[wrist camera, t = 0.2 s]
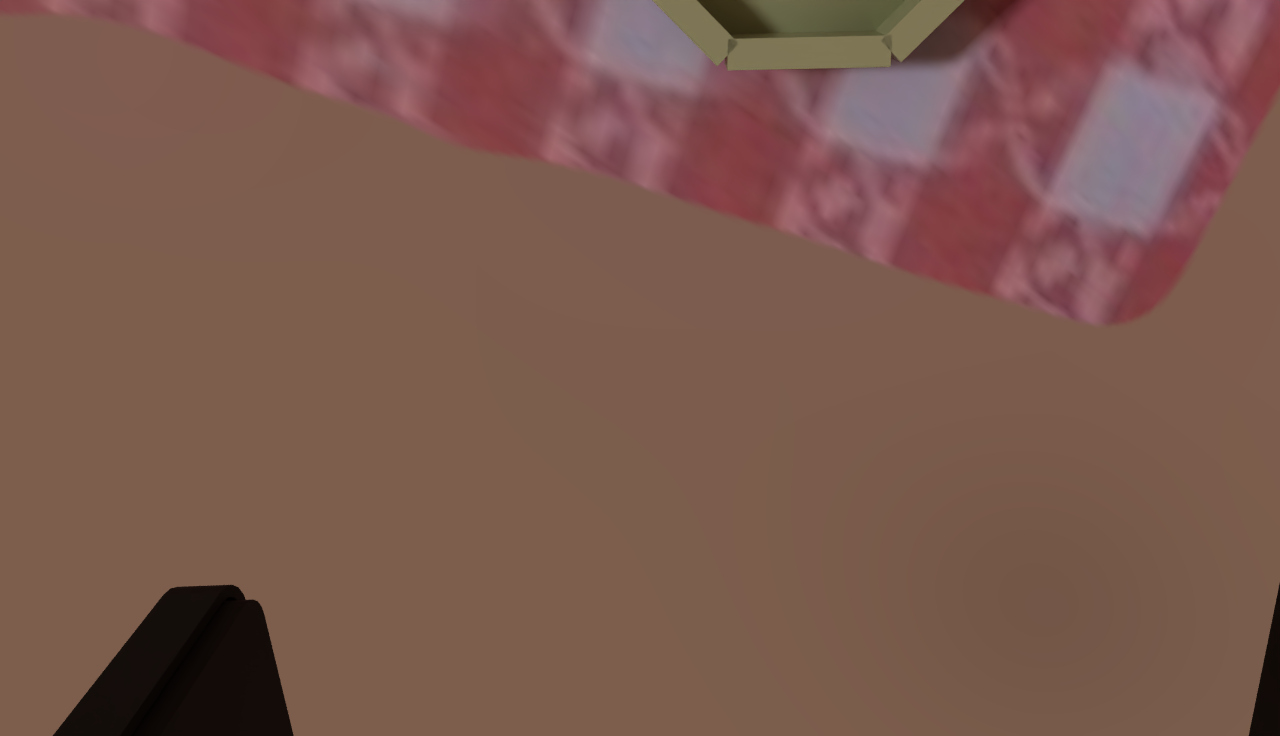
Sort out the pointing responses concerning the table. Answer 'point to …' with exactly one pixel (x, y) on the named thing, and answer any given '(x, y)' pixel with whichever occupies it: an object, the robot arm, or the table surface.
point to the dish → (807, 30)
